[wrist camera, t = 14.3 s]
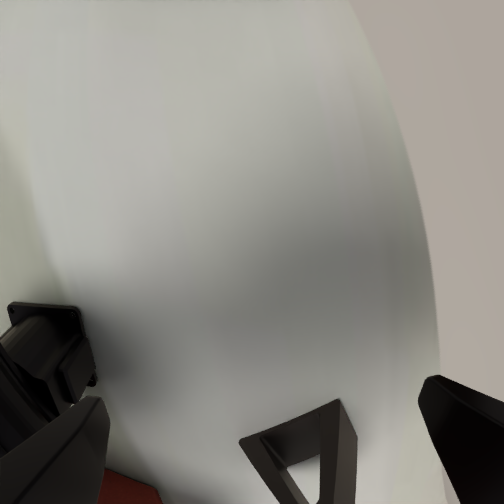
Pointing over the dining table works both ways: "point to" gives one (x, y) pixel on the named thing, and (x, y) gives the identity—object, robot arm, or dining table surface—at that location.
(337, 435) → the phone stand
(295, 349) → the dining table surface
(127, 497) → the plant pot
